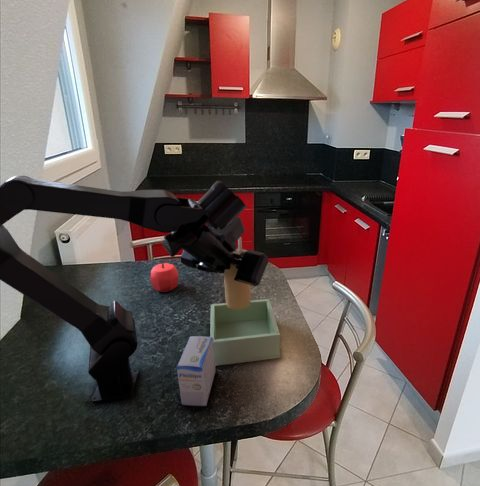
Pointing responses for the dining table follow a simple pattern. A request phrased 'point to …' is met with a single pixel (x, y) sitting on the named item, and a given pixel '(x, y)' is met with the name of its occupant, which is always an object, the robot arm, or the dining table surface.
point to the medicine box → (196, 371)
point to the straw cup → (236, 286)
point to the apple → (164, 277)
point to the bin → (244, 333)
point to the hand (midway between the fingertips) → (240, 274)
